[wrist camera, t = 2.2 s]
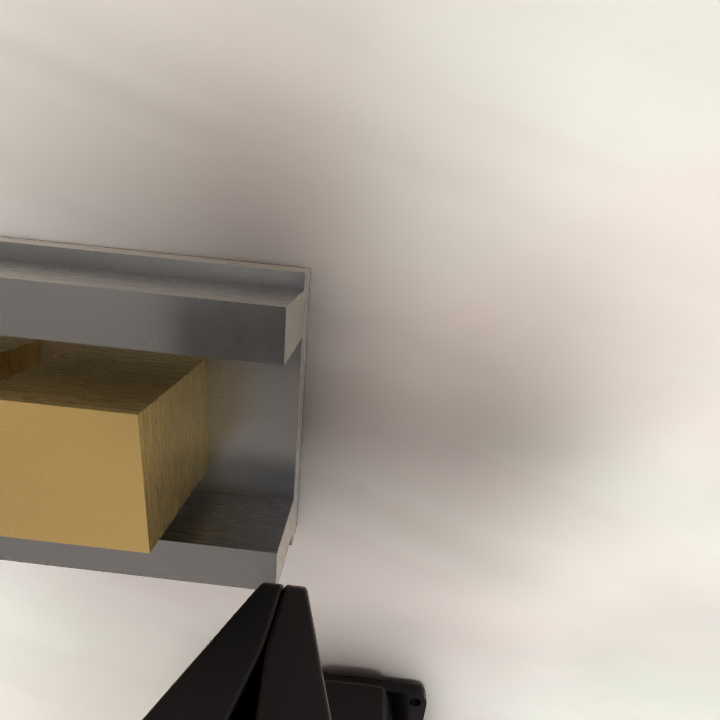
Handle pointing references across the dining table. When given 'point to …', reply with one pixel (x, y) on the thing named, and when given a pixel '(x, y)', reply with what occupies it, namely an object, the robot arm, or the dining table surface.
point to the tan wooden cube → (101, 446)
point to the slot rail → (224, 390)
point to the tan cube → (17, 356)
